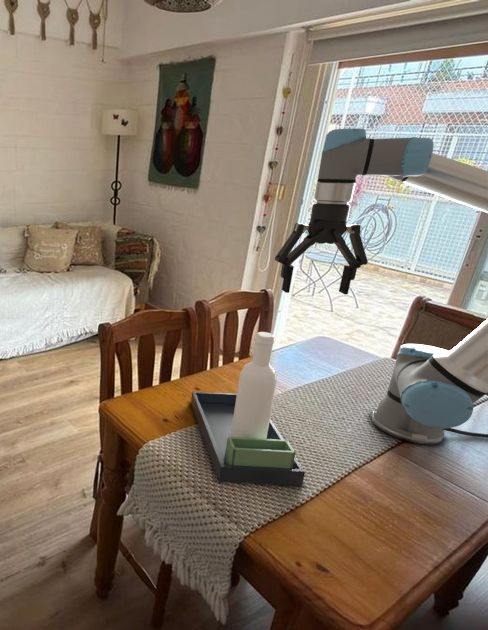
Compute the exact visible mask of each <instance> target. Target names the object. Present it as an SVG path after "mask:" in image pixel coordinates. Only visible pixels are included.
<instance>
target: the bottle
mask: <svg viewBox="0 0 488 630" xmlns="http://www.w3.org/2000/svg"><path fill="white" fill-rule="evenodd" d="M274 344H275V335H274V334H273V333H271V332H267V331H259V332H257V333H256V335H255V337H254V345H253V346H254V347H253V353H252V358H251V361H250V362H248V363H246V364H245V365H244V366H243V368H242V370H241V371H240V373H239V378H238V385H237V390H236V394H237V396H236V403H235V410H234V416H233V423H232V429H231V435H230V437H240V438H259V439H266V438H267V432H268V427H269V422H270V419H271V416H272V410H273V405H274V400H275V396H276V395H275V394H276V388H277V384H278V378H277V374H276V370H275V369H274V368H273V366H271V357H272V353H273V352H272V351H273V347H274Z"/></svg>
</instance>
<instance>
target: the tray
mask: <svg viewBox="0 0 488 630" xmlns="http://www.w3.org/2000/svg"><path fill="white" fill-rule="evenodd" d="M236 396H237V393H229V392H207V391H192V392H191V397H190V398H191V399H190V404H191V407H192V410H193V414H194V417H195V419H196V421H197V424H198V427H199V429H200V430H199V431H200V432H201V435H202V438H203V441H204V443H205V446H206V449H207V452H208V455H209V458H210V460H211V463H212V466H213V468H214V472H215V474H216V476H217V479H218V482H225V483H226V482H228V483H240V484H241V483H243V484H258V485H276V486H288V487H289V486H291V487H292V486H293V487H303V483H304V478H305V474H306V471H305V470H304V468H303V466H302V465H301V463H300V462H299V460H298V459H297V457H296V456H295V458H294V462H293V467H292V469H285V468H268V467H251V466H233V465H225V464H224V459H225V452H226V445H227V439H228V437H230V435H231V429H232V423H233V416H234V410H235V403H236ZM266 439H278V440H285V439H284V437H283V436H282V434H281V433H280V431H279V430H278V428H277V427H276V425H275V424H274V422H273V420H272V419H271V418H270V422H269V427H268V432H267V438H266Z"/></svg>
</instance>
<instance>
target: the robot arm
mask: <svg viewBox="0 0 488 630" xmlns="http://www.w3.org/2000/svg"><path fill="white" fill-rule="evenodd" d="M434 147H435V146H434V140H433V139H432V138H430V137H417V136H412V137H391V138H390V137H389V138H370V137H367V130H366V129H364V128H336V129H331V130H329V131H328V132H327V133H326V135H325V139H324V143H323V147H322V150H321V151H322V152H321V157H320V163H319V169H318V173H317V181H316V186H315V190H314V195H313V200H314V201H315V202H313V203H312V206H311V212H310V217H309V218H310V220H309V222H308V224H306V223H305V224H304V223H301V222H296V223H294V226H293V230H292V232H291V234H290V235H289V236H288V238H287V240H286V241H285V243H283V245H282V247H281V248H280V249H279V251H278V252H277V254H276V255H275V256H274V261H275V262H278V263H279V264H281V269H280V278H282V285H281V291H282V292H284V293H286V294H288V293H290V290H291V284H292V279H293V273H294V267H295V266H294V265H292V264H293V263H294V262H295V261H296V260H297V259H298V258H300V257H301V256H302V255H303V254H304V253H305V252H306V251H307V250H308V249H310V247H312V246H314V245H315V244H319V245H324V244H328V245H333V244H334V245H335V246H336V247H337V249H338V251H339V252H340V253H341V255H342V257H343V258H344V260H345V261H346V263H347V264H348V265H347V264H345V265H344V266H343V270H342V275H341V278H340V279H341V280H340V283H339V287H338V292H339V293H341V294H342V295H349V291H350V285H351V282H352V281H354V280H355V279H356V275H357V270H358V269H360V268H361V267H362V266H366V265H368V262H369V261H368V258H367V255H366V251H365V247H364V244H363V241H362V237H361V228H362V227H361V225H360V224H357V223H351V224H347V221H348V219H349V215H350V210H351V204H350V202H352V201H353V196H354V191H355V188H356V182H357V178H358V176H375V177H376V176H379V177H380V176H381V177H386V178H389V179H392V180H395V181H397V182H401V183H404V184H407V185H409V186H412V187H414V188H418V189H419V190H423V191H425V192H429V193H431V194H434V195H437V196H439V197H442V198H444V199H448V200H451V201H454V202H456V203H458V204H462V205H465V206H467V207H470V208H473V209H475V210H478V211H481V212H483V213H487V214H488V170H485V169H483V168H480V167H477V166H473V165H470V164H468V163H465V162H461V161H459V160H455V159H453V158H449V157H446V156H443V155H440V154H437V153H434V152H433V151H434ZM306 231H307V233H308V235H306V236H305V237H304V238H303V240H302V241H301V242H300V243H299V244H298V245H297V246H296V244H297V243H298V241H299V240H300V238H301V237H302V235H303V234H305V233H306ZM345 233H347V234H348V237H349V239H350V240H349V241H350V244H351V247H352V250H353V252H352V251H351V249H350V247H349V246H348V245H347V243H346V240H345V239H344V237H343V235H344V234H345ZM294 247H295V248H294ZM293 248H294V249H293ZM353 253H354V254H353ZM387 389H388V390H387V392H386V394H385V396H384V397H383V398H382V399H381V401H380V402H379V404H378V405H377V406H376V407H375V408H374V410H373V412H372V415H371V422H372V423H373V424H374V426H376V427H377V428H378V429H379V430H381V431H382V432H384V433H386V434H387V435H389V436H392V437H394V438H397V439H399V440H401V441H405V442H410V443H411V444H412V443H413V444H419V445H437V444H439V443H441V442H442V441H443V439H444V437H445V436H444V435H445V431H446V432H450V433H455V434H458V435H463V436H469V437H477V438H487V439H488V433H481V432H480V433H479V432H473V431H465V430H461V429H457V427H459V426H462V425H463V424H465V423H466V422H467V421H469V420H470V419H471V417H472V415H473V412H474V408H475V407H474V404H475V403H476V402H477V401H479V400H480V399H481V398H482V397H484V396H485V395H486V394H488V318H487V319H486V320H484V321H483V322H481V324H480V325H479V326H477V328H475V329H474V330H473V331H472V332H470V334H468V335H467V336H466V337H465V338H463V340H462V341H460V342H459V343H458V344H457V345H456V346H454V347H453V348H452V349H450V350H448V349H444V348H440V347H436V346H432V345H427V344H421V343H420V344H419V343H405V344H402V345H400V347H399V349H398V351H397V353H396V359H395V362H394V366H393V370H392V374H391V378H390V381H389V384H388V388H387Z"/></svg>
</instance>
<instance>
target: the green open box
mask: <svg viewBox="0 0 488 630" xmlns="http://www.w3.org/2000/svg"><path fill="white" fill-rule="evenodd" d="M295 457H296V451H295V449H294V448H293V446H292V445H291V443H290V442H289V440H288V439H284V440H278V439H259V438H240V437H228V439H227V445H226V452H225V459H224V464H225V465H233V466H251V467H268V468H285V469H292V467H293V462H294V458H295Z"/></svg>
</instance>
